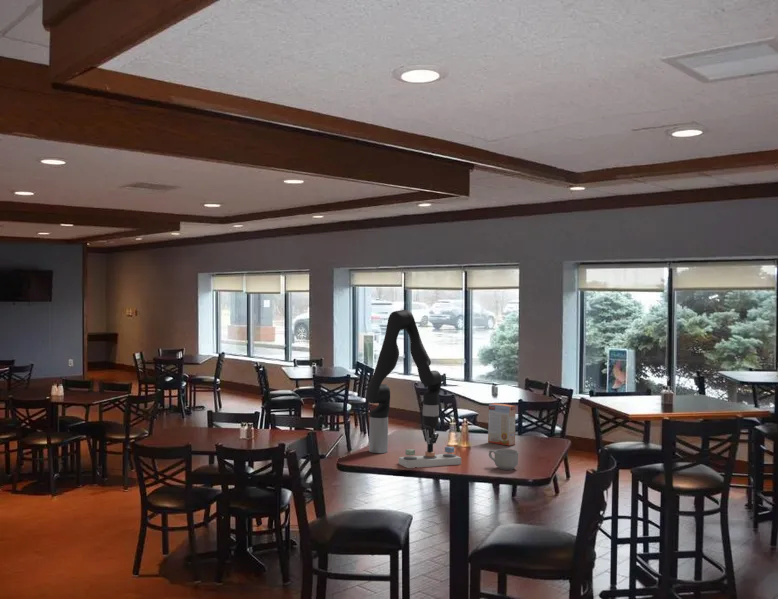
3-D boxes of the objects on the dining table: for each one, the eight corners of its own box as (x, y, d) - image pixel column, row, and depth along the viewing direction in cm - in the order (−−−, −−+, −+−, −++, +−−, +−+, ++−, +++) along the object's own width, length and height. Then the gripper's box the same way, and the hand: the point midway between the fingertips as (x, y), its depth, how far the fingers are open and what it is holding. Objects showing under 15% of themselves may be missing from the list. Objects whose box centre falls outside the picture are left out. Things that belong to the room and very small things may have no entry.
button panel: (398, 463, 344) (398, 456, 344) (451, 460, 354) (451, 452, 354) (407, 468, 334) (407, 460, 334) (461, 464, 345) (461, 456, 345)
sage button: (403, 453, 342) (403, 449, 342) (412, 453, 343) (412, 448, 343) (407, 455, 338) (407, 451, 338) (416, 455, 339) (416, 450, 339)
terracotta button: (423, 455, 345) (423, 451, 345) (432, 455, 347) (432, 450, 347) (427, 457, 341) (427, 453, 341) (436, 456, 343) (436, 452, 343)
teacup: (523, 469, 337) (523, 451, 337) (508, 472, 330) (508, 454, 330) (498, 464, 347) (498, 446, 347) (483, 467, 339) (483, 449, 340)
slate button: (443, 451, 349) (443, 446, 349) (451, 450, 351) (451, 446, 351) (447, 452, 345) (447, 448, 345) (455, 452, 347) (456, 448, 347)
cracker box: (515, 445, 396) (516, 405, 396) (508, 446, 392) (509, 406, 392) (494, 441, 406) (495, 402, 406) (487, 442, 402) (488, 403, 402)
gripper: (417, 412, 349) (416, 450, 349) (429, 416, 337) (428, 455, 337) (431, 412, 352) (431, 449, 352) (444, 416, 340) (443, 454, 339)
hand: (430, 452), depth 344 cm, fingers closed
